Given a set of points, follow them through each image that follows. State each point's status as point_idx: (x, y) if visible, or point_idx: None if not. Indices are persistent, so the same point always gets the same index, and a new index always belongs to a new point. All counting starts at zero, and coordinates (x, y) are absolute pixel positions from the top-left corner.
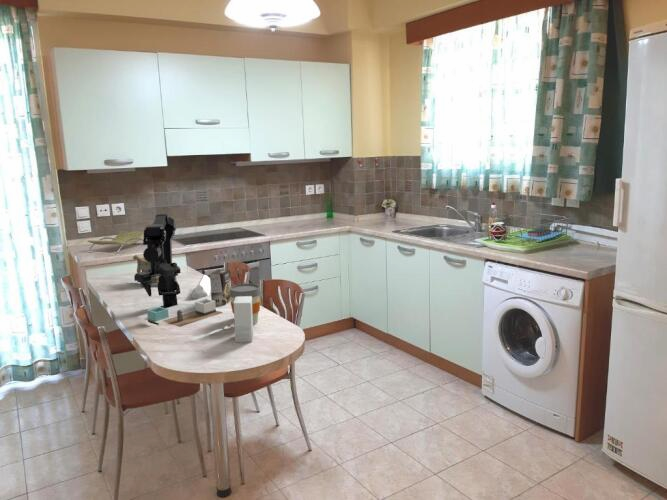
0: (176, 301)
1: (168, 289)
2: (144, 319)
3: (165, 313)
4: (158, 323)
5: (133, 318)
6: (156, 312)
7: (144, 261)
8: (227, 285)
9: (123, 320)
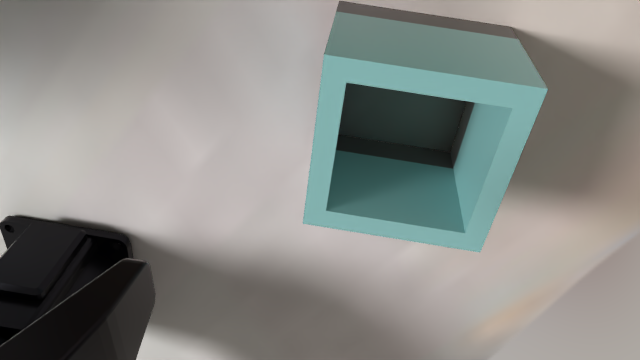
0: (12, 254)
1: (135, 309)
2: None
3: (377, 42)
4: (485, 24)
5: (431, 317)
6: (521, 93)
7: None
8: None
9: (499, 343)
